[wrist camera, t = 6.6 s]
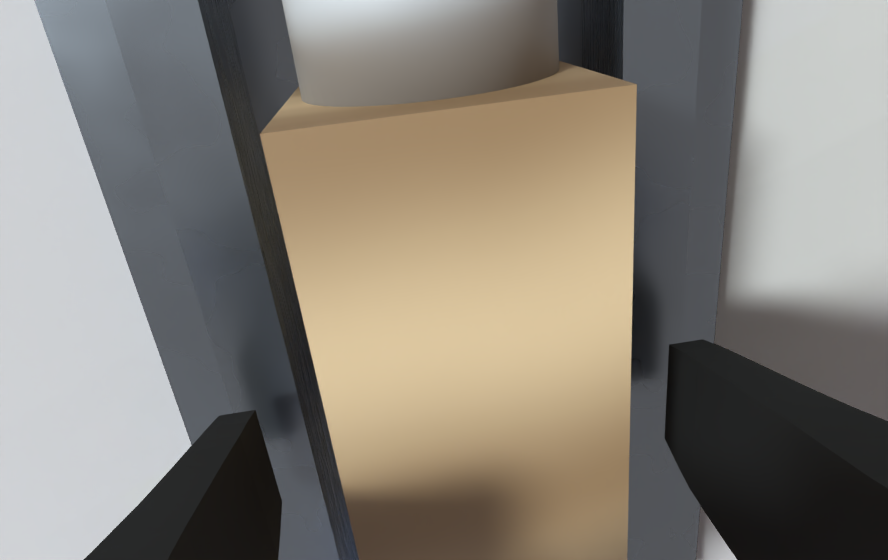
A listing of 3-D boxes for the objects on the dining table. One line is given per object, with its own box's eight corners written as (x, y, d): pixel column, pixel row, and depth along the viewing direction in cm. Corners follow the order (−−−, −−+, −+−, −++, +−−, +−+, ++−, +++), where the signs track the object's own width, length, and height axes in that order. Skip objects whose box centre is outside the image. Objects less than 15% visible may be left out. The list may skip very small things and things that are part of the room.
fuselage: (551, 536, 16) (657, 844, 10) (399, 563, 16) (418, 893, 10) (520, -76, 10) (725, -182, 4) (279, -48, 10) (156, -121, 4)
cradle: (677, 554, 18) (731, 649, 16) (272, 626, 18) (255, 739, 15) (727, -180, 11) (846, -240, 8) (26, -104, 10) (-97, -143, 7)
